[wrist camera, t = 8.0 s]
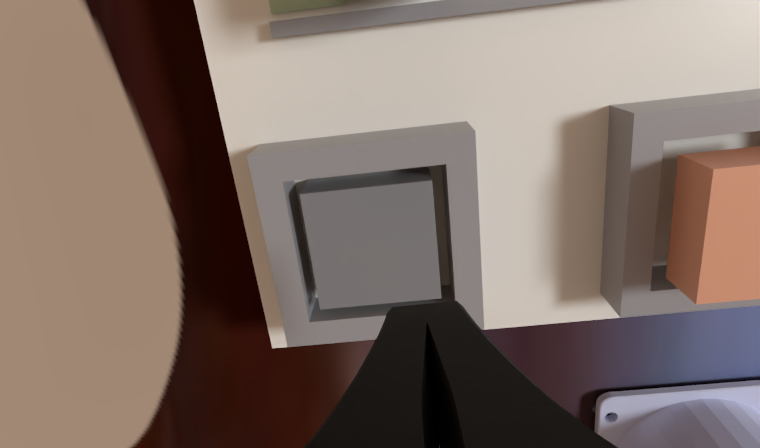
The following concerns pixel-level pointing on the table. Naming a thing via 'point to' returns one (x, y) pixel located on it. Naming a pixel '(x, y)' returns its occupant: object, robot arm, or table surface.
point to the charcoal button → (372, 237)
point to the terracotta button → (716, 226)
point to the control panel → (483, 141)
